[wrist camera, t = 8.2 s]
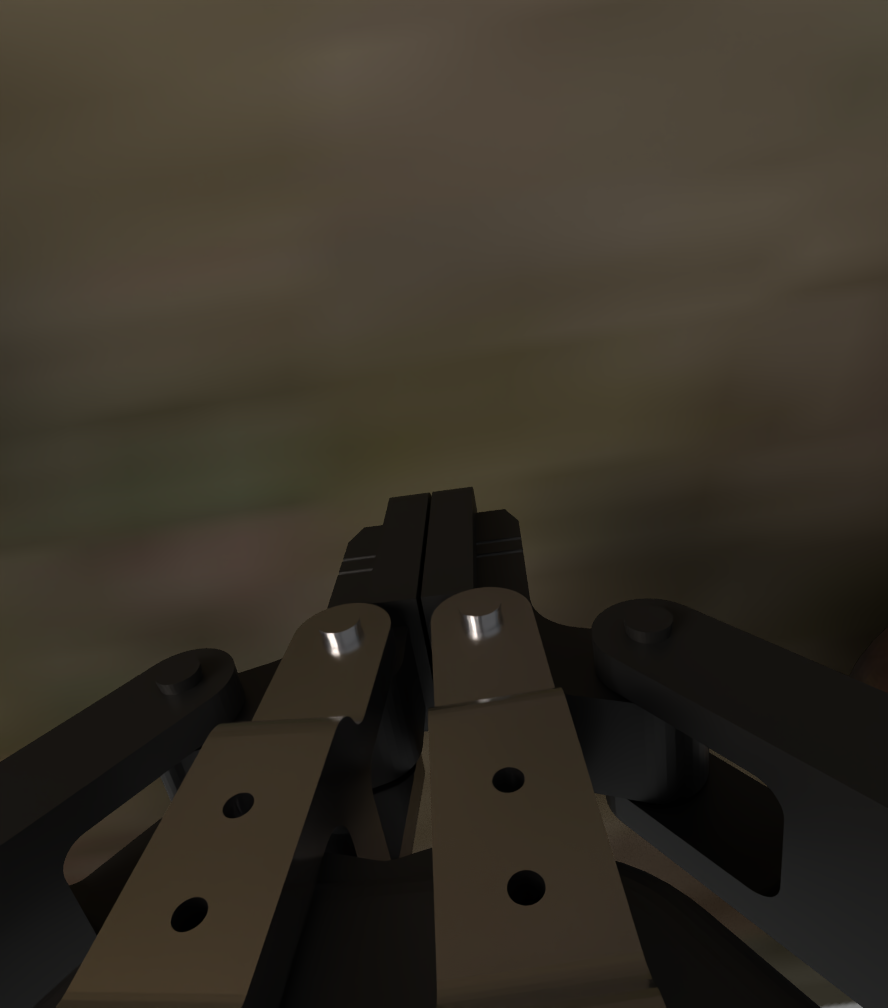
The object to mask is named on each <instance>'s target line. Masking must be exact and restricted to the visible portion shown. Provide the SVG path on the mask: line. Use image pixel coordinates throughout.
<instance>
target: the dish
mask: <svg viewBox="0 0 888 1008" xmlns="http://www.w3.org/2000/svg"><path fill="white" fill-rule="evenodd" d="M849 677H851V678H854V679H856V680H858V681H861V682H863V683H865V684H868V685H870V686H872V687H875V688H877V689H879V690H882V691H884V692H886V693H888V627H887V628H886V629H885V630H884V631H883V632H882V633H881V634H880V635H879V636H878V637H877V638H876V639H875V640H874V641H873V642H872V643H871V644H870V645H869V647H868V648H867V649H866V650H865V652H864V653H863V654H862V655H861V657H860V658H859V660H858V661H857V662H856V664H855V666H854V668H853V670H852V672H851V674H850V676H849Z"/></svg>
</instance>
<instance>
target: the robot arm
mask: <svg viewBox="0 0 888 1008" xmlns="http://www.w3.org/2000/svg"><path fill="white" fill-rule="evenodd" d="M343 559H344V562H342V565H341V568H340V571H339V575H338V577H337V580H336V583H335V586H334V589H333V592H332V596H331V599H330V602H329V605H328V608H327V609H326V610H324V611H321V612H319V613H317V614H315V615H314V616H312V617H311V618H309V619H308V620H306V621H305V622H304V623H303V624H302V625H301V626H300V627H299V628H298V629H297V631H296V632H295V634H294V636H293V638H292V640H291V642H290V644H289V646H288V648H287V650H286V652H285V654H284V656H283V658H282V659H280V660H277V661H274V662H272V663H269V664H266V665H262V666H259V667H256V668H253V669H250V670H247V671H244V672H241V673H238V672H237V669H236V667H235V664H234V661H233V658H232V657H231V656H230V655H229V654H228V653H226V652H224V651H222V650H218V649H209V648H205V649H196V650H190V651H186V652H183V653H180V654H177V655H174V656H172V657H170V658H167V659H165V660H163V661H161V662H160V663H158V664H156V665H154V666H153V667H151V668H150V669H148V670H146V671H145V672H143V673H142V674H140V675H138V676H137V677H135V678H134V679H132V680H130V681H129V682H127V683H126V684H124V685H122V686H121V687H119V688H118V689H116V690H114V691H113V692H111V693H110V694H108V695H107V696H105V697H103V698H102V699H100V700H99V701H97V702H95V703H94V704H92V705H91V706H89V707H87V708H86V709H84V710H83V711H81V712H79V713H78V714H76V715H75V716H73V717H71V718H70V719H68V720H67V721H65V722H63V723H62V724H60V725H59V726H57V727H55V728H54V729H52V730H51V731H49V732H47V733H46V734H44V735H43V736H41V737H39V738H38V739H36V740H35V741H33V742H31V743H30V744H28V745H27V746H25V747H23V748H22V749H20V750H19V751H17V752H15V753H14V754H12V755H11V756H9V757H7V758H6V759H4V760H3V761H1V762H0V1008H820V1007H819V1006H818V1005H817V1004H816V1003H815V1002H813V1001H812V1000H811V999H810V998H809V997H807V996H806V995H805V994H804V993H803V992H802V991H800V990H799V989H798V988H797V987H796V986H795V985H793V984H792V983H791V982H790V981H789V980H787V979H786V978H785V977H784V976H783V975H782V974H780V973H779V972H778V971H777V970H776V969H774V968H773V967H772V966H771V965H770V964H769V963H767V962H766V961H765V960H764V959H763V958H762V957H760V956H759V955H758V954H757V953H756V952H754V951H753V950H752V949H751V948H750V947H749V946H747V945H746V944H745V943H744V942H743V941H742V940H740V939H739V938H738V937H737V936H736V935H734V934H733V933H732V932H731V931H730V930H729V929H727V928H726V927H725V926H724V925H723V924H721V923H720V922H719V921H718V920H717V919H716V918H714V917H713V916H712V915H711V914H710V913H708V912H707V911H706V910H705V909H703V908H702V907H701V906H700V905H698V904H697V903H696V902H695V901H693V900H692V899H691V898H689V897H688V896H686V895H685V894H683V893H682V892H680V891H679V890H677V889H676V888H674V887H673V886H671V885H670V884H668V883H666V882H664V881H662V880H660V879H659V878H657V877H655V876H653V875H651V874H649V873H647V872H645V871H642V870H640V869H637V868H635V867H632V866H629V865H627V864H624V863H621V862H617V861H615V859H614V856H613V852H612V849H611V846H610V842H609V839H608V836H607V832H606V829H605V826H604V823H603V819H602V816H601V813H600V809H599V806H598V803H597V799H596V796H595V793H598V794H603V795H606V799H607V803H608V805H609V807H610V809H611V811H612V812H613V813H614V814H615V816H616V817H617V818H618V819H620V820H621V821H622V822H623V823H624V824H625V825H627V826H628V827H629V828H631V829H632V830H633V831H635V832H636V833H637V834H638V835H640V836H641V837H642V838H644V839H645V840H646V841H648V842H649V843H650V844H651V845H653V846H654V847H655V848H657V849H658V850H659V851H660V852H662V853H663V854H664V855H666V856H667V857H668V858H670V859H671V860H672V861H673V862H675V863H676V864H677V865H679V866H680V867H681V868H683V869H684V870H685V871H686V872H688V873H689V874H690V875H692V876H693V877H694V878H696V879H697V880H698V881H699V882H701V883H702V884H703V885H705V886H706V887H707V888H709V889H710V890H711V891H712V892H714V893H715V894H716V895H718V896H719V897H720V898H722V899H723V900H724V901H725V902H727V903H728V904H729V905H731V906H732V907H733V908H734V909H736V910H737V911H738V912H740V913H741V914H742V915H744V916H745V917H746V918H747V919H749V920H750V921H751V922H753V923H754V924H755V925H757V926H758V927H759V928H760V929H762V930H763V931H764V932H766V933H767V934H768V935H770V936H771V937H772V938H773V939H775V940H776V941H777V942H779V943H780V944H781V945H783V946H784V947H785V948H786V949H788V950H789V951H790V952H792V953H793V954H794V955H795V956H797V957H798V958H799V959H801V960H802V961H803V962H805V963H806V964H807V965H808V966H810V967H811V968H812V969H814V970H815V971H816V972H818V973H819V974H820V975H821V976H823V977H824V978H825V979H827V980H828V981H829V982H831V983H832V984H833V985H834V986H836V987H837V988H838V989H840V990H841V991H842V992H844V993H845V994H846V995H847V996H849V997H850V998H851V999H853V1000H854V1001H855V1002H856V1003H858V1004H859V1005H860V1006H862V1007H863V1008H888V693H886V692H884V691H882V690H879V689H877V688H875V687H872V686H870V685H868V684H865V683H863V682H861V681H858V680H856V679H854V678H851V677H849V676H847V675H844V674H842V673H840V672H837V671H835V670H833V669H830V668H828V667H826V666H824V665H821V664H819V663H817V662H814V661H812V660H810V659H807V658H805V657H803V656H800V655H798V654H796V653H793V652H791V651H789V650H786V649H784V648H782V647H779V646H777V645H775V644H772V643H770V642H768V641H765V640H763V639H761V638H758V637H756V636H754V635H751V634H749V633H747V632H744V631H742V630H740V629H737V628H735V627H733V626H730V625H728V624H726V623H723V622H721V621H719V620H717V619H714V618H712V617H710V616H707V615H705V614H703V613H700V612H698V611H696V610H693V609H691V608H689V607H686V606H684V605H681V604H678V603H676V602H671V601H667V600H661V599H635V600H629V601H625V602H621V603H618V604H615V605H613V606H611V607H609V608H607V609H605V610H604V611H603V612H602V613H600V614H599V615H598V616H597V618H596V619H595V621H594V622H593V625H592V629H587V628H577V627H570V626H565V625H561V624H558V623H555V622H552V621H550V620H548V619H546V618H544V617H543V616H542V615H540V614H539V613H538V612H537V611H536V610H535V609H534V607H533V606H532V604H531V601H530V596H529V589H528V582H527V575H526V568H525V562H524V555H523V548H522V541H521V534H520V528H519V521H518V520H517V519H516V518H515V517H513V516H512V515H511V514H510V513H509V512H507V511H506V510H505V509H502V510H495V511H487V512H479V513H477V508H476V502H475V496H474V491H473V487H467V488H459V489H452V490H444V491H437V492H433V493H432V496H431V494H430V493H423V494H415V495H408V496H400V497H393V498H390V499H389V502H388V507H387V511H386V515H385V519H384V523H383V525H381V526H373V527H365V528H363V529H362V530H361V531H360V532H359V533H358V534H357V535H356V536H355V537H354V538H353V539H352V540H351V541H350V542H349V543H348V546H347V549H346V552H345V555H344V558H343ZM424 731H428V736H429V765H430V795H431V825H432V848H430V849H426V850H423V851H420V852H417V853H414V854H412V850H413V844H414V838H415V832H416V825H417V819H418V813H419V807H420V801H421V795H422V789H423V783H424V777H425V769H424V764H423V759H422V755H421V752H422V747H423V737H424ZM709 748H710V749H712V750H713V751H715V752H717V753H718V754H720V755H722V756H723V757H725V758H727V759H728V760H730V761H732V762H733V763H735V764H737V765H738V766H740V767H742V768H744V769H745V770H747V771H749V772H750V773H752V774H753V775H755V776H756V777H758V778H759V779H760V780H761V781H763V782H764V783H765V784H766V785H767V786H768V787H769V788H768V787H766V786H764V785H763V784H761V783H759V782H758V781H756V780H754V779H753V778H751V777H749V776H748V775H746V774H744V773H743V772H741V771H739V770H738V769H736V768H734V767H733V766H731V765H729V764H728V763H726V762H724V761H723V760H721V759H719V758H718V757H716V756H714V755H713V754H711V753H709ZM159 777H161V779H162V782H163V784H164V786H165V789H166V791H167V793H168V795H169V798H170V800H171V804H170V805H169V807H168V809H167V811H166V813H165V814H164V816H163V817H162V818H161V819H160V820H159V821H157V822H156V823H155V824H153V825H152V826H151V827H150V828H148V829H147V830H146V831H145V832H143V833H142V834H141V835H139V836H138V837H137V838H136V839H134V840H133V841H132V842H131V843H129V844H128V845H127V846H126V847H124V848H123V849H122V850H120V851H119V852H118V853H117V854H115V855H114V856H113V857H112V858H110V859H109V860H108V861H107V862H105V863H104V864H103V865H101V866H100V867H99V868H98V869H96V870H95V871H94V872H93V873H91V874H90V875H89V876H88V877H86V878H85V879H83V880H82V881H80V882H78V883H75V884H73V885H68V883H67V882H66V880H65V878H64V874H63V864H64V860H65V858H66V855H67V853H68V851H69V850H70V848H71V846H72V845H73V844H74V842H75V841H76V840H77V839H78V838H79V837H80V836H81V835H83V834H84V833H85V832H86V831H88V830H89V829H90V828H92V827H93V826H94V825H96V824H97V823H98V822H100V821H101V820H102V819H104V818H105V817H106V816H108V815H109V814H110V813H112V812H113V811H114V810H116V809H117V808H118V807H120V806H121V805H122V804H124V803H125V802H127V801H128V800H129V799H131V798H132V797H133V796H135V795H136V794H137V793H139V792H140V791H141V790H143V789H144V788H145V787H147V786H148V785H149V784H151V783H152V782H153V781H155V780H156V779H157V778H159Z"/></svg>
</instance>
